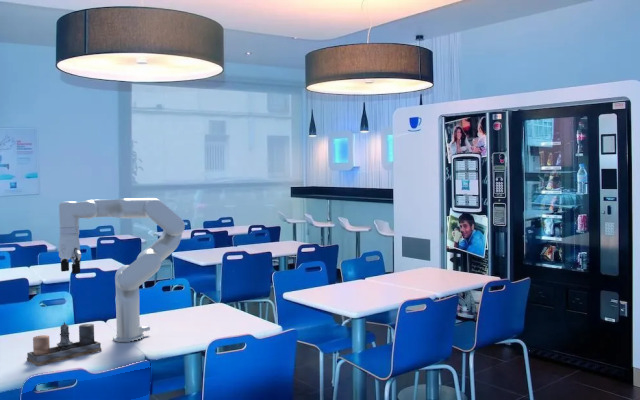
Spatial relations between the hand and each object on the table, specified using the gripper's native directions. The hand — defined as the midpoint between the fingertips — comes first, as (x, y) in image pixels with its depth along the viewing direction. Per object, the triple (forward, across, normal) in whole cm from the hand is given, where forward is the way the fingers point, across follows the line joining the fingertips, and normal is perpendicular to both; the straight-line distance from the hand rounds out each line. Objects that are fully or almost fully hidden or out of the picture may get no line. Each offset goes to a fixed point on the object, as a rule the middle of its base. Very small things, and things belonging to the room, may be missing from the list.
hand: (70, 272), depth 252 cm
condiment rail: (+30, +14, -10) cm, 35 cm away
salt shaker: (+29, +13, -9) cm, 34 cm away
